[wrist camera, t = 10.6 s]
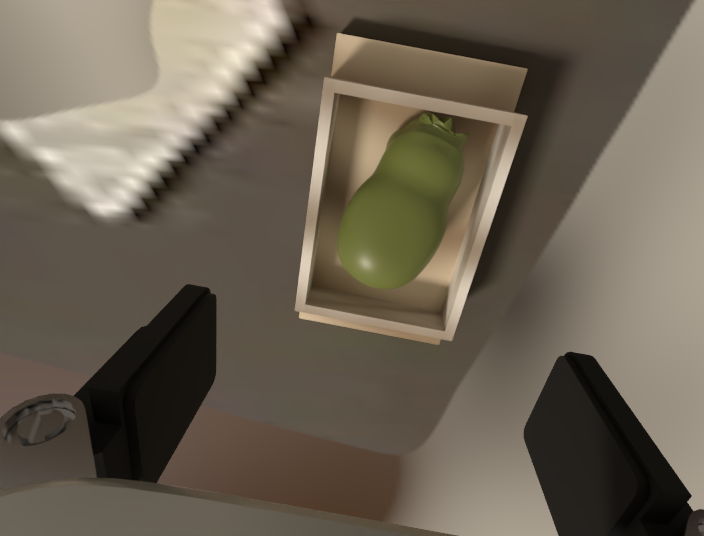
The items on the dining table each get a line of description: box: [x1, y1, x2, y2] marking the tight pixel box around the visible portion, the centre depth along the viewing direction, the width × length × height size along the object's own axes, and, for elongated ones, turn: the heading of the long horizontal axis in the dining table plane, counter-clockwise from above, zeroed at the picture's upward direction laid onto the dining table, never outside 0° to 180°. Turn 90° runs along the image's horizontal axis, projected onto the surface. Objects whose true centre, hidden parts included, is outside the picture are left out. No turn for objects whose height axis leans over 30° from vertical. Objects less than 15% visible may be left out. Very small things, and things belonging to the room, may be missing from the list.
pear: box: [337, 112, 469, 289], centre depth 23 cm, size 6×5×10 cm
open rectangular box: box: [295, 33, 528, 345], centre depth 25 cm, size 18×10×4 cm, turn 171°
